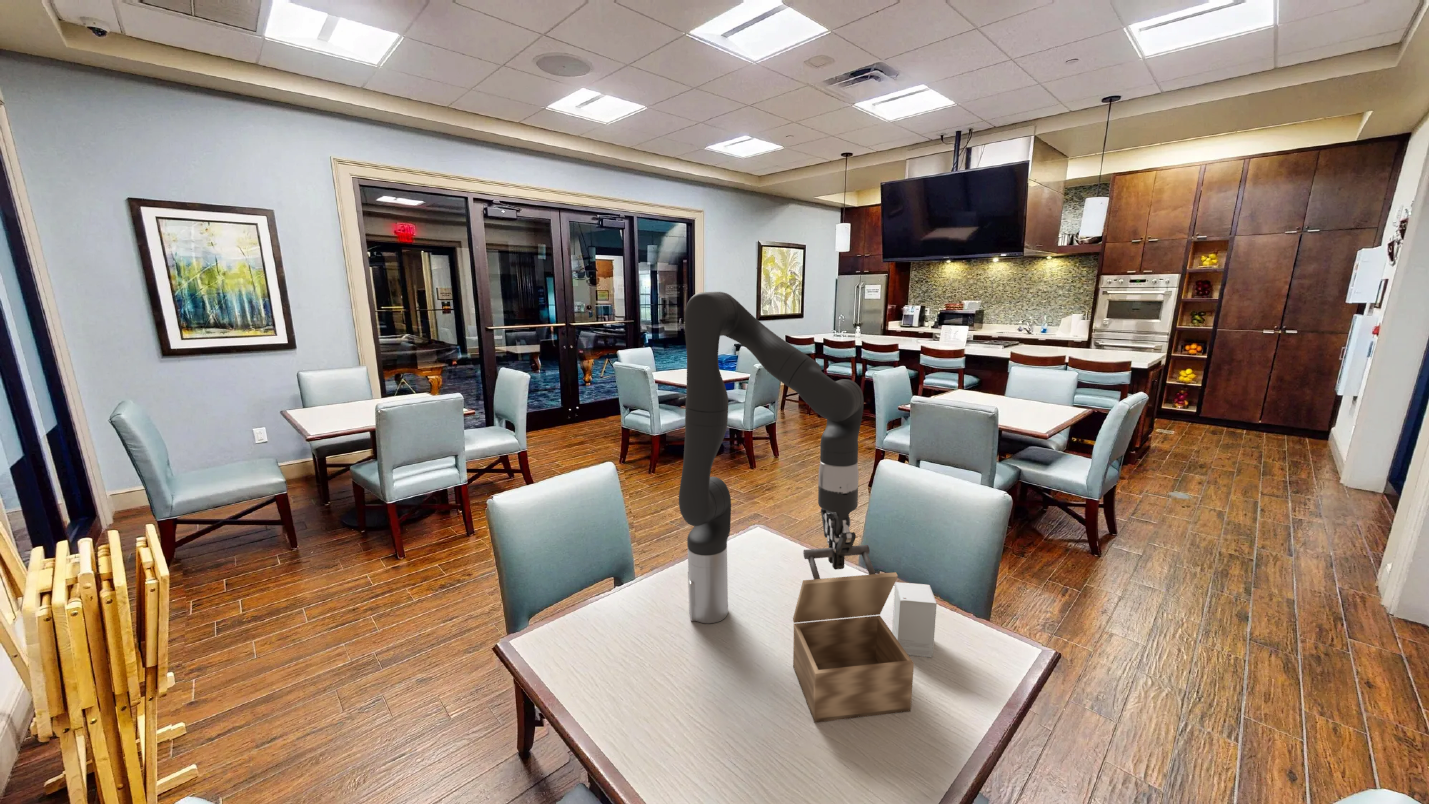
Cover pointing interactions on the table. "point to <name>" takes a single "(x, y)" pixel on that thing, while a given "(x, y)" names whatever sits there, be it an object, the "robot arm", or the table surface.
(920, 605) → the supplement box
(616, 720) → the table surface
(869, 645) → the wooden box
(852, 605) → the wooden box lid
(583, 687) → the table surface
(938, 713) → the table surface
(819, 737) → the table surface
